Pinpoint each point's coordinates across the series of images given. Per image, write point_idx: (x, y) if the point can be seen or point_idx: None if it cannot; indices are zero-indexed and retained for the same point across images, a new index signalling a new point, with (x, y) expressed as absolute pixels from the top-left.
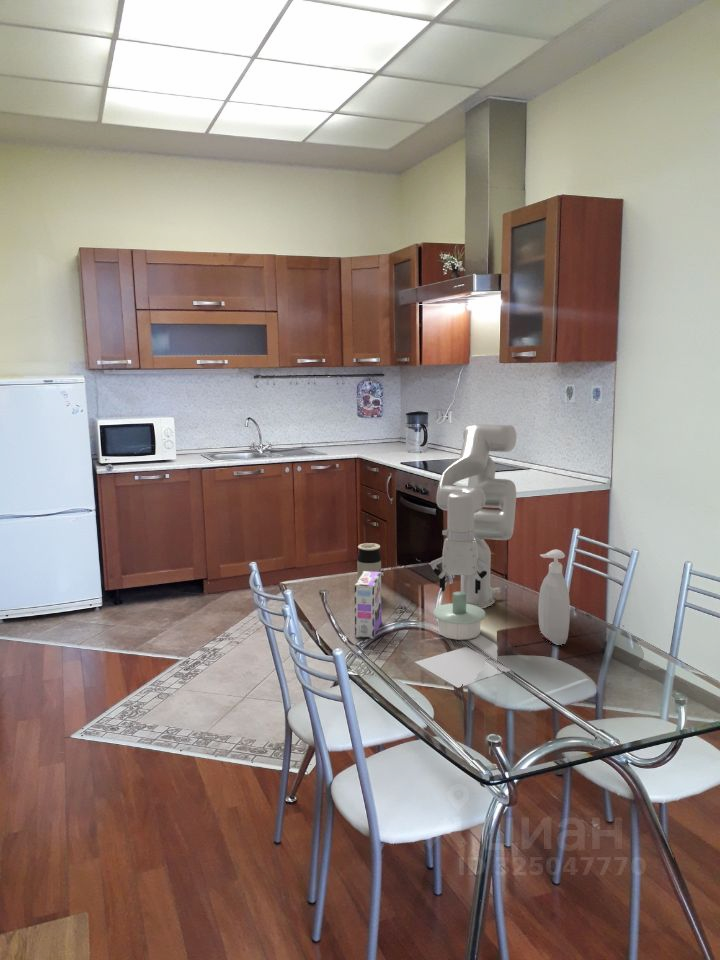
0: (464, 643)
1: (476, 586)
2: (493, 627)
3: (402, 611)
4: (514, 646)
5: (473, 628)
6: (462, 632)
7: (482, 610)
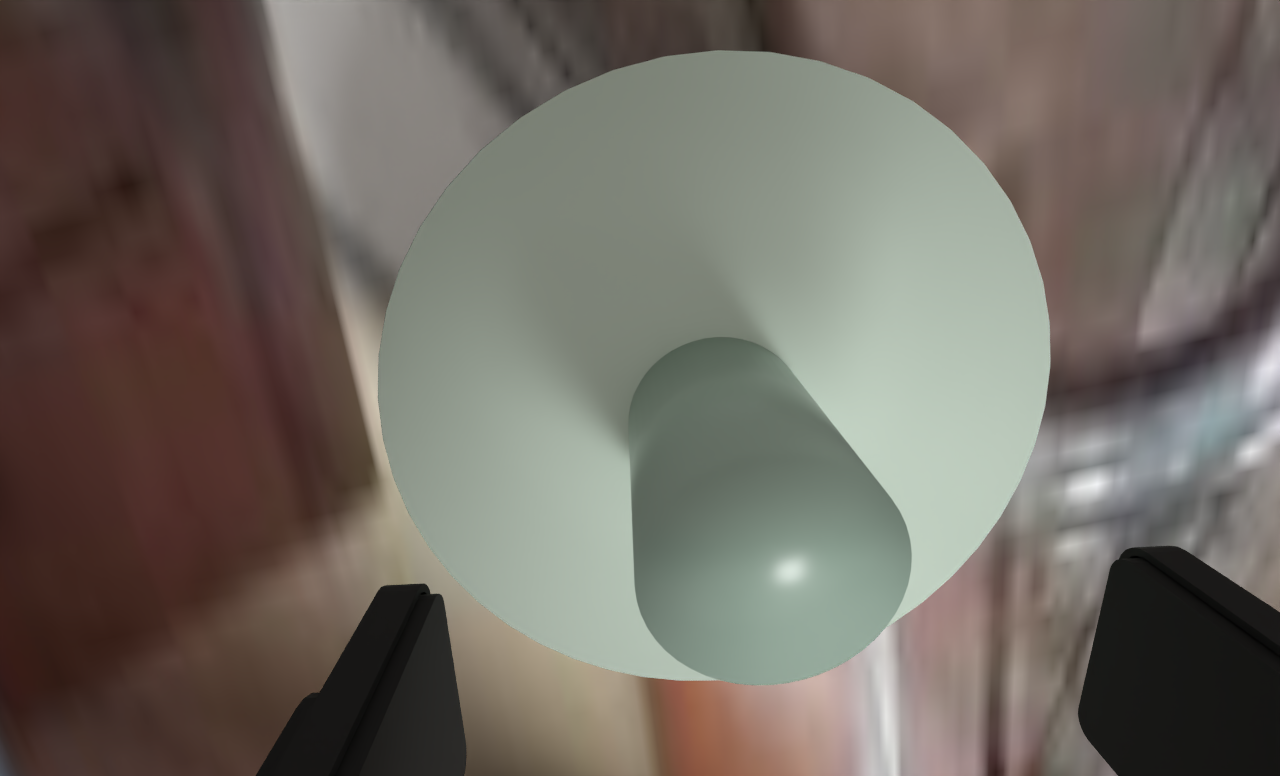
0: None
1: (339, 711)
2: (424, 548)
3: None
4: (137, 178)
5: None
6: None
7: (441, 534)
